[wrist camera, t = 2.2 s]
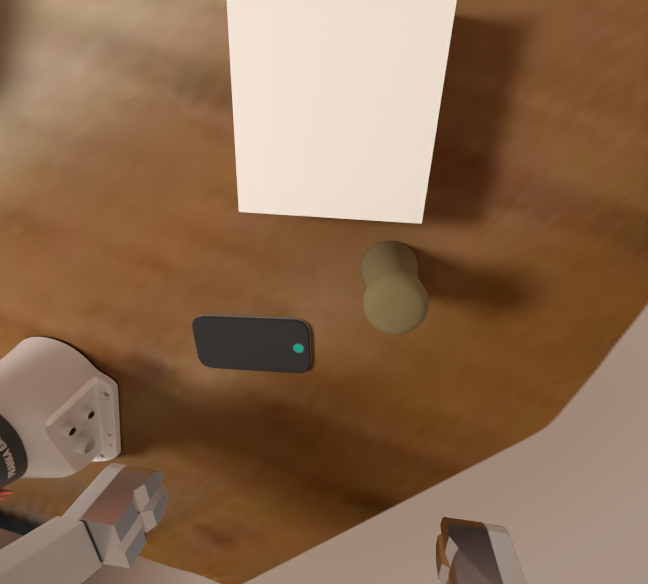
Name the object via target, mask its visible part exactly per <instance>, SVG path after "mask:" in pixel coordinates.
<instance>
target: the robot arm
mask: <svg viewBox="0 0 648 584" xmlns="http://www.w3.org/2000/svg"><path fill="white" fill-rule="evenodd" d="M120 453H121V439H120V419H119V399H118V386H117V384H116V382H115V381H114V380H113V379H111V378H110V377H108V376H107V375H105V374H103V373H102V372H100V371H98V370H97V369H96V368H95V367H94V366H93V365H92V364H91V363H90V362H89V361H88V360H87V359H86V358H85V357H84V356H83V355H82V354H80V353H79V352H78V351H76V350H75V349H73V348H72V347H70V346H68V345H67V344H65V343H62V342H60V341H57V340H54V339H51V338H46V337H32V338H28V339H25V340H23V341H21V342H20V343H19V344H18V345H17V346H16V347H15V348H14V349H13V350H12V351H11V352H9V353H8V354H7V355H6V356H5V357H4V358H2V359H1V360H0V488H2V487H4V486H6V485H8V484H10V483H11V482H13V481H15V480H17V479H19V478H60V477H66V476H70V475H73V474H75V473H76V472H78V471H80V470H81V469H83V468H84V467H85V466H86V465H88V464H89V463H90V462H91V461H106V460H111V459H113V458H115V457H117V456H118V455H119V454H120ZM162 480H163V476H162V473H161V471H156V470H151V469H145V468H139V467H133V466H129V465H123V464H116V463H112V464H110V465H109V466H107V467H106V468H105V469H104V470H103V471H102V472H101V473H100V474H99V475H98V476H97V478H96V479H95V480H94V481H93V482H92V483H91V484H90V485H89V487H88V488H87V489H86V490H85V491H84V492H83V493H82V494H81V496H80V497H79V498H78V499H77V500H76V501H75V502H74V503H73V505H72V506H71V507H70V508H69V509H68V510H67V511H66V512H65V513H64V515H63V516H62V517H58V516H56V517H55V518H53V519H51V520H50V521H48V522H46V523H45V524H43V525H41V526H40V527H38V528H36V529H35V530H33V531H31V532H30V533H28V534H26V535H24V536H23V537H21V538H20V539H18V540H16V541H15V542H13V543H11V544H10V545H8V546H6V547H4V548H3V549H1V550H0V584H81V583H82V582H83V581H85V580H86V579H87V578H88V577H89V576H90V575H92V574H93V573H94V572H95V571H96V570H97V569H99V568H100V567H101V566H102V565H101V563H102V564H107V565H113V566H119V567H125V568H131V566H132V565H133V563H134V562H135V560H136V558H137V557H138V555H139V553H140V552H141V550H142V549H143V547H144V545H145V544H146V542H147V532H148V531H149V530H151V529H152V528H153V527H155V526H156V525H157V524H158V522H159V520H160V519H161V517H162V515H163V513H164V510H165V507H166V504H167V491H166V489H165V488H164V487H163V486H162V485H161V484H160V483H161V482H162ZM12 493H13V491H11V490H5V489H0V495H8V494H12ZM0 500H4V501H5V500H6V498H3V497H0ZM441 532H442V534H440V535H439V536H438V538H437V543H436V563H437V572H438V579H439V580H440V582H441V583H442V584H526V581H525V578H524V575H523V572H522V569H521V567H520V564H519V561H518V558H517V555H516V552H515V549H514V547H513V544H512V541H511V538H510V535H509V532H508V531H507V530H506V528H504V527H503V526H497V525H491V524H484V523H481V522H474V521H467V520H460V519H453V518H447V517H444V518H443V519H442V521H441Z"/></svg>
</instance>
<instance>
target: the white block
mask: <svg viewBox="0 0 648 584" xmlns="http://www.w3.org/2000/svg"><path fill="white" fill-rule="evenodd" d="M456 1H457V0H227V13H228V31H229V48H230V66H231V83H232V101H233V118H234V136H235V153H236V170H237V188H238V205H239V212H250V213H265V214H281V215H296V216H311V217H327V218H342V219H358V220H373V221H389V222H404V223H419V224H422V219H423V212H424V206H425V200H426V193H427V187H428V180H429V174H430V168H431V161H432V155H433V148H434V142H435V136H436V129H437V123H438V116H439V110H440V104H441V97H442V91H443V84H444V78H445V71H446V65H447V59H448V52H449V46H450V39H451V33H452V27H453V20H454V14H455V7H456Z"/></svg>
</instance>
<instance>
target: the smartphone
mask: <svg viewBox="0 0 648 584" xmlns="http://www.w3.org/2000/svg"><path fill="white" fill-rule="evenodd" d="M192 327H193V333H194V338H195V343H196V348H197V353H198V357H199V359H200V361H201V363H202V364H203V365H205V366H207V367H211V368H222V369H239V370H255V371H272V372H288V373H302V372H306V371H307V370H309V368H310V366H311V341H310V329H309V326H308V324H307V323H306V322H305V321H303V320H301V319H297V318H280V317H253V316H226V315H201V316H198V317H196V318H195V319H194V320H193V324H192Z"/></svg>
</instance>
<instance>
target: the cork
mask: <svg viewBox="0 0 648 584" xmlns="http://www.w3.org/2000/svg"><path fill="white" fill-rule="evenodd" d="M361 272H362V276H363V279H364V282H365V285H366V291H365V293H364V297H363V308H364V312H365V315H366V317H367V319H368V320H369V321H370V323H371V324H372V325H373V326H374V327H376V328H377V329H378V330H380V331H382V332H385V333H388V334H403V333H407V332H410V331H411V330H413V329H415V328H417V327H418V326H419V325H420V324H421V323H422V322H423V321H424V319H425V317H426V314H427V312H428V306H429V298H428V294H427V291H426V289H425V287H424V286H423V284H422V283H421V281H420V280H418V262H417V258H416V255H415V254H414V252H413V251H412V249H410V248H409V247H408V246H406V245H405V244H403V243H400V242H397V241H384V242H381V243H378V244H376V245H375V246H373V247H372V248H370V249H369V250H368V252H367V253H366V254H365V255H364V258H363V261H362V264H361Z"/></svg>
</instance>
